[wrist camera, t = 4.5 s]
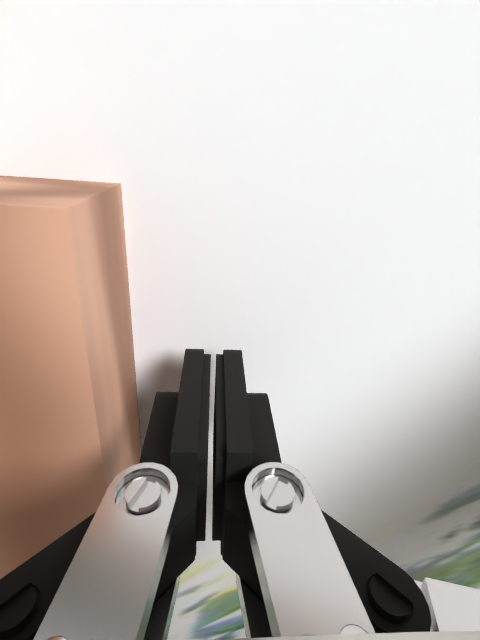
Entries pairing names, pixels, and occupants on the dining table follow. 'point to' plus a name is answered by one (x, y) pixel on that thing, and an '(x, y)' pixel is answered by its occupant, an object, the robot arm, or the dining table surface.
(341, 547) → the robot arm
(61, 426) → the t block
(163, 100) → the dining table surface
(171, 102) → the dining table surface
